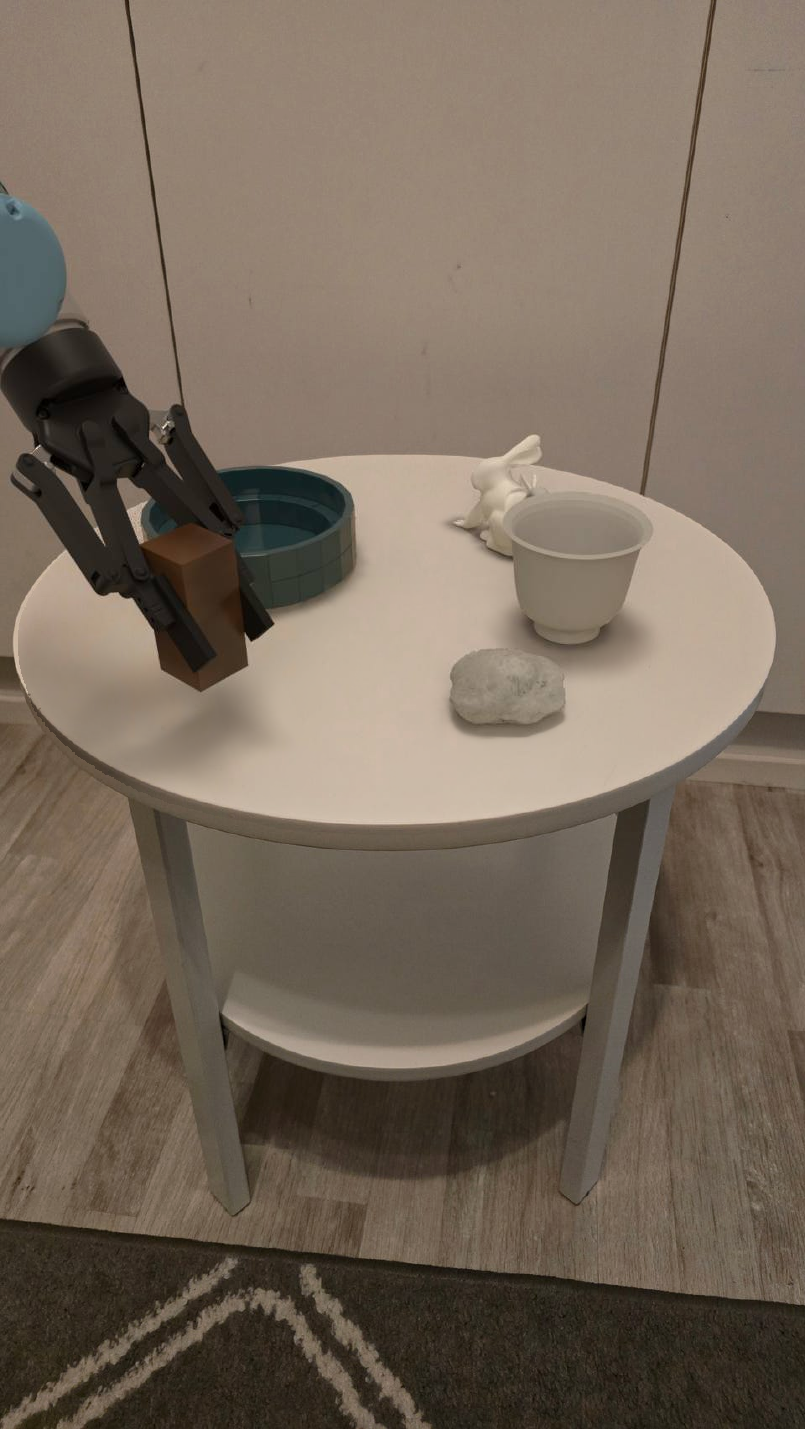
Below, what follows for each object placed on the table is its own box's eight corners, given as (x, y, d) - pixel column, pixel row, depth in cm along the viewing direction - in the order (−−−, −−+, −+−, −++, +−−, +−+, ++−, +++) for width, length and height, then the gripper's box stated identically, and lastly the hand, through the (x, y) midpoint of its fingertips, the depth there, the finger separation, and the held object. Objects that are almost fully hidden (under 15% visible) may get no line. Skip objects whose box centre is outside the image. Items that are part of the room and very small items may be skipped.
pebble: (503, 666, 81) (506, 613, 78) (580, 708, 76) (587, 654, 73) (427, 708, 76) (427, 654, 73) (504, 757, 71) (508, 701, 68)
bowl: (146, 626, 86) (135, 565, 82) (155, 528, 102) (145, 473, 98) (368, 606, 88) (366, 546, 85) (344, 513, 104) (341, 459, 100)
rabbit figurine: (451, 523, 102) (452, 432, 96) (512, 507, 105) (517, 418, 99) (515, 571, 93) (522, 475, 88) (580, 553, 96) (590, 459, 90)
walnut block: (200, 692, 69) (181, 565, 63) (160, 669, 71) (137, 544, 65) (248, 665, 72) (234, 541, 66) (208, 644, 74) (190, 522, 68)
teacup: (583, 570, 94) (594, 470, 88) (663, 650, 82) (682, 542, 76) (464, 590, 91) (467, 488, 85) (531, 677, 79) (540, 566, 73)
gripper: (134, 359, 75) (301, 618, 76) (-86, 422, 64) (112, 722, 65) (168, 297, 69) (349, 579, 70) (-68, 354, 58) (149, 686, 59)
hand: (234, 647), depth 68 cm, fingers closed on walnut block, 4 cm apart
